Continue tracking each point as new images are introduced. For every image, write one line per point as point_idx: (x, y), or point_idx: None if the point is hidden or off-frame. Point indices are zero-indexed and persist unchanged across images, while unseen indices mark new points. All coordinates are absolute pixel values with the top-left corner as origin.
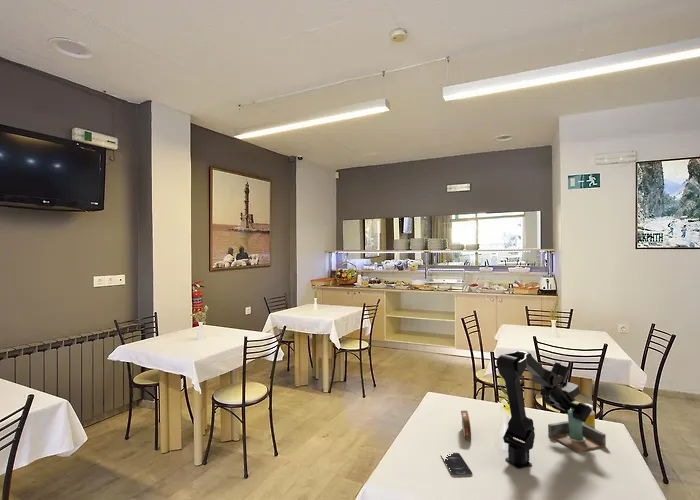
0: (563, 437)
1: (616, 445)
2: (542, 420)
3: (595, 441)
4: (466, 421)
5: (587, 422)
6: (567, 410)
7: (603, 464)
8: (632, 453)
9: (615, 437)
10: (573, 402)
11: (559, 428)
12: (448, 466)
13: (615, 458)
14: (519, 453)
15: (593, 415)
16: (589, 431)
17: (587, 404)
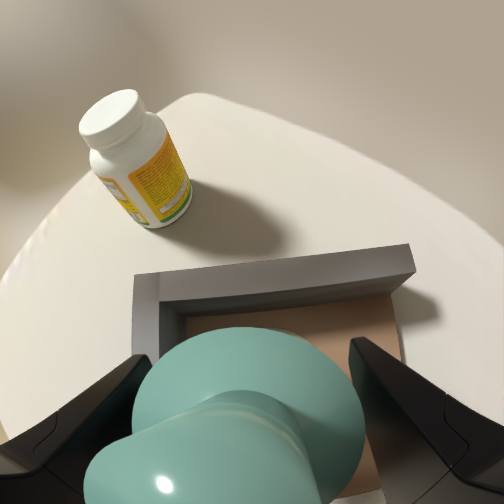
0: None
1: (369, 209)
2: (39, 359)
3: (343, 301)
4: None
5: (166, 194)
6: (117, 438)
7: (501, 408)
8: (438, 205)
9: (290, 155)
10: (89, 477)
11: None
12: None
13: (478, 317)
14: None
15: (167, 135)
16: (301, 294)
17: (101, 106)
